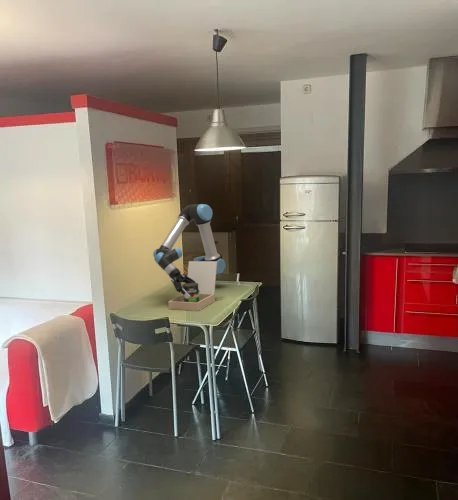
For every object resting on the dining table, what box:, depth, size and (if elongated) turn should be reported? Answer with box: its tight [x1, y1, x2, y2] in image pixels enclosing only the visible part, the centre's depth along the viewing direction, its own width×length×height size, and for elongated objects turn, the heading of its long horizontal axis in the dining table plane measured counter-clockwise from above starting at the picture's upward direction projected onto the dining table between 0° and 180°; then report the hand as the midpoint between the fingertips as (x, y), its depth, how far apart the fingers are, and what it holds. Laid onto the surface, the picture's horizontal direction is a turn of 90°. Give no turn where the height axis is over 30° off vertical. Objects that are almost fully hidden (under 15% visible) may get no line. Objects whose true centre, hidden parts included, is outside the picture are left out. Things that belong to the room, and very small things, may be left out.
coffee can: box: [181, 283, 199, 303], centre depth 296 cm, size 10×10×14 cm
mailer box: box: [167, 260, 217, 312], centre depth 298 cm, size 30×22×26 cm
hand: (194, 294), depth 294 cm, fingers open, 13 cm apart
